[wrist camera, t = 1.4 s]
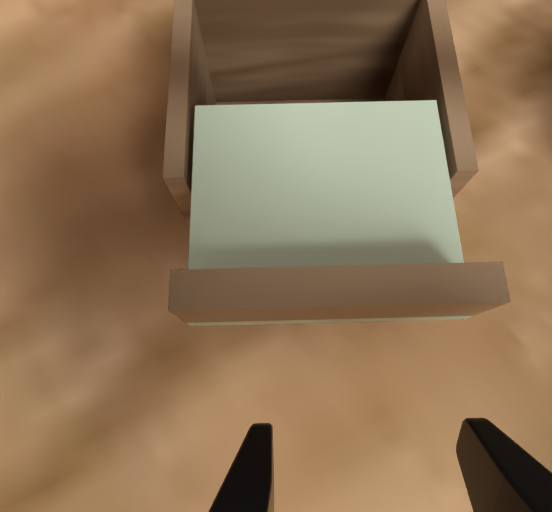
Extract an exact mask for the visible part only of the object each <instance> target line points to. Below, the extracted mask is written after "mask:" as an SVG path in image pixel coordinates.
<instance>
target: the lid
mask: <svg viewBox="0 0 552 512" xmlns="http://www.w3.org/2000/svg"><path fill="white" fill-rule="evenodd" d="M509 302H510V297H509V292H508V287H507V282H506V277H505V272H504V267H503V262H471V263H464V260H463V254H462V248H461V243H460V237H459V231H458V225H457V219H456V213H455V207H454V201H453V195H452V190H451V184H450V178H449V172H448V166H447V160H446V154H445V148H444V142H443V136H442V131H441V125H440V119H439V113H438V107H437V101H436V100H421V101H376V102H332V103H288V104H244V105H199V106H195V120H194V144H193V167H192V191H191V215H190V239H189V262H188V269H181V270H170V288H169V306H168V310H169V311H170V312H171V313H173V314H174V315H176V316H177V317H178V318H180V319H181V320H183V321H184V322H185V323H187V324H188V325H190V326H221V325H262V324H302V323H343V322H383V321H424V320H463V319H466V318H468V317H471V316H474V315H476V314H479V313H482V312H484V311H487V310H490V309H493V308H495V307H498V306H501V305H503V304H506V303H509Z"/></svg>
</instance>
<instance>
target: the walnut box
mask: <svg viewBox="0 0 552 512" xmlns="http://www.w3.org/2000/svg"><path fill="white" fill-rule="evenodd" d="M421 100H436V101H437V107H438V113H439V119H440V125H441V131H442V136H443V142H444V148H445V154H446V160H447V166H448V172H449V178H450V184H451V190H452V195H453V198H454V197H455V195H456V194H457V193H458V192H459V191H460V190H461V189H462V188H463V187H464V186H465V185H466V184H467V182H468V181H469V180H470V179H471V178H472V177H473V176H474V175H475V174H476V173H477V172H478V171H479V170H478V165H477V160H476V155H475V150H474V145H473V139H472V134H471V129H470V124H469V119H468V114H467V109H466V104H465V98H464V93H463V88H462V83H461V78H460V73H459V68H458V62H457V57H456V52H455V47H454V42H453V37H452V32H451V26H450V21H449V16H448V11H447V6H446V1H445V0H174V12H173V27H172V42H171V57H170V72H169V87H168V102H167V117H166V132H165V147H164V162H163V177H162V178H163V180H164V182H165V183H166V185H167V187H168V189H169V191H170V193H171V194H172V196H173V198H174V200H175V202H176V204H177V205H178V207H179V209H180V211H181V213H182V215H183V216H184V218H185V220H186V222H187V224H188V226H189V227H190V215H191V191H192V167H193V144H194V120H195V106H199V105H244V104H288V103H332V102H376V101H421Z"/></svg>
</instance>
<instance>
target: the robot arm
mask: <svg viewBox="0 0 552 512" xmlns="http://www.w3.org/2000/svg"><path fill="white" fill-rule="evenodd" d="M456 453H457V458H458V461H459V465H460V468H461V471H462V475H463V478H464V481H465V485H466V488H467V491H468V495H469V498H470V501H471V505H472V508H473V512H552V473H551V472H550V471H549V470H548V469H547V468H545V467H544V466H543V465H542V464H541V463H539V462H538V461H537V460H536V459H535V458H533V457H532V456H531V455H530V454H529V453H527V452H526V451H525V450H524V449H523V448H521V447H520V446H519V445H518V444H517V443H515V442H514V441H513V440H512V439H511V438H509V437H508V436H507V435H506V434H505V433H503V432H502V431H501V430H500V429H499V428H497V427H496V426H495V425H494V424H493V423H491V422H490V421H489V420H487V419H485V418H466V419H465V420H464V421H463V423H462V426H461V430H460V433H459V437H458V441H457V445H456ZM209 512H274V461H273V429H272V425H271V424H270V423H256V424H253V425H252V426H251V427H250V429H249V431H248V433H247V435H246V437H245V439H244V441H243V443H242V445H241V447H240V449H239V451H238V453H237V455H236V457H235V459H234V461H233V463H232V465H231V467H230V469H229V471H228V473H227V475H226V477H225V479H224V481H223V483H222V485H221V487H220V489H219V492H218V494H217V496H216V498H215V500H214V502H213V504H212V506H211V508H210V510H209Z"/></svg>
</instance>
